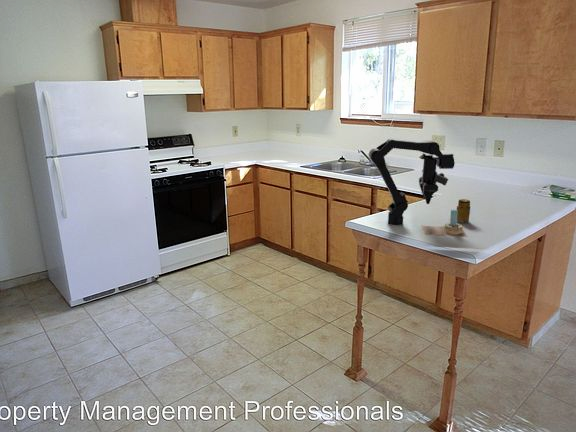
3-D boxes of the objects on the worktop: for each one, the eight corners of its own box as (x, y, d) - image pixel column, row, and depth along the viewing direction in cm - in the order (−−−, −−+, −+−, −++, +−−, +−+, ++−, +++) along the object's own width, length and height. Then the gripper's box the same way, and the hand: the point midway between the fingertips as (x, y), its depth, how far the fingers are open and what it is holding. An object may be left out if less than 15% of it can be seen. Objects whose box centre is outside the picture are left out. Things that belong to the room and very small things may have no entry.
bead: (446, 233, 191) (447, 227, 190) (443, 228, 197) (444, 222, 196) (462, 234, 190) (463, 228, 189) (459, 229, 196) (460, 223, 195)
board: (424, 237, 190) (425, 234, 190) (420, 228, 202) (421, 225, 202) (467, 239, 187) (467, 236, 187) (460, 229, 200) (461, 227, 199)
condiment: (457, 221, 213) (460, 197, 210) (475, 224, 207) (478, 200, 204) (451, 224, 208) (454, 200, 205) (469, 228, 202) (472, 203, 199)
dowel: (450, 232, 192) (451, 211, 189) (449, 230, 195) (450, 209, 192) (457, 232, 192) (458, 211, 189) (455, 230, 195) (456, 209, 192)
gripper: (451, 173, 188) (448, 207, 192) (444, 165, 206) (440, 197, 210) (425, 172, 190) (422, 206, 194) (419, 165, 207) (417, 196, 212)
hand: (426, 201), depth 202 cm, fingers open, 9 cm apart
